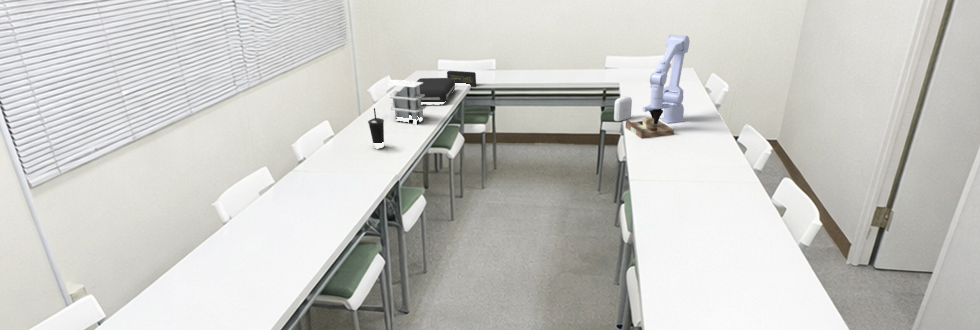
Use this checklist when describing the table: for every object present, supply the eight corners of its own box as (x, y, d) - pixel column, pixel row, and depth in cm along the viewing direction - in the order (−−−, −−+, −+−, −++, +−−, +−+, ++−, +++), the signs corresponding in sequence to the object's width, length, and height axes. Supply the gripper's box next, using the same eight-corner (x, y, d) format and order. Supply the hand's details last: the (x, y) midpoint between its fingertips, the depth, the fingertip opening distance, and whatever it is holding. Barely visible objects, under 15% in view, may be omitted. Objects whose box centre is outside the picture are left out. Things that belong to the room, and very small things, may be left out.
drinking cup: (389, 145, 284) (385, 106, 276) (382, 150, 277) (377, 110, 270) (376, 144, 286) (371, 105, 279) (368, 149, 280) (363, 110, 272)
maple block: (650, 124, 288) (650, 116, 286) (653, 126, 284) (653, 119, 283) (642, 125, 287) (643, 117, 286) (645, 127, 284) (646, 119, 282)
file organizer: (422, 130, 304) (419, 90, 296) (367, 125, 317) (362, 87, 309) (444, 116, 326) (441, 79, 318) (392, 112, 339) (388, 76, 331)
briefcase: (409, 92, 383) (408, 77, 379) (456, 91, 379) (455, 76, 375) (395, 107, 350) (393, 91, 346) (446, 106, 346) (445, 90, 342)
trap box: (656, 123, 296) (656, 116, 295) (673, 134, 280) (674, 126, 278) (625, 127, 293) (625, 120, 292) (641, 138, 277) (641, 130, 275)
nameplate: (447, 85, 395) (446, 71, 391) (449, 84, 396) (448, 70, 392) (475, 87, 386) (474, 72, 382) (476, 86, 388) (475, 72, 384)
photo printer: (626, 116, 310) (627, 94, 306) (632, 118, 307) (633, 95, 303) (612, 120, 305) (613, 97, 301) (618, 122, 302) (619, 99, 297)
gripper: (664, 93, 286) (662, 119, 291) (639, 97, 282) (638, 123, 287) (673, 96, 280) (671, 123, 285) (648, 100, 276) (646, 127, 281)
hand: (655, 123), depth 286 cm, fingers closed
